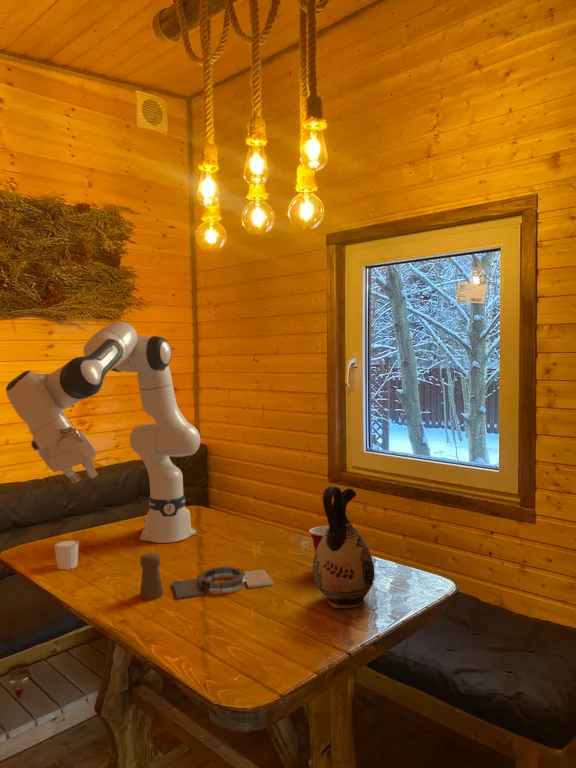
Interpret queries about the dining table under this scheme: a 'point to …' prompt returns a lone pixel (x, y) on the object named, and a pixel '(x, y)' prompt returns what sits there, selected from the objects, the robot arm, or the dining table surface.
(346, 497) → the ceramic jug
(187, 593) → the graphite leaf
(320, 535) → the plastic cup
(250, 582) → the ring
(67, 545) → the shot glass
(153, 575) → the cork
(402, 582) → the dining table surface
